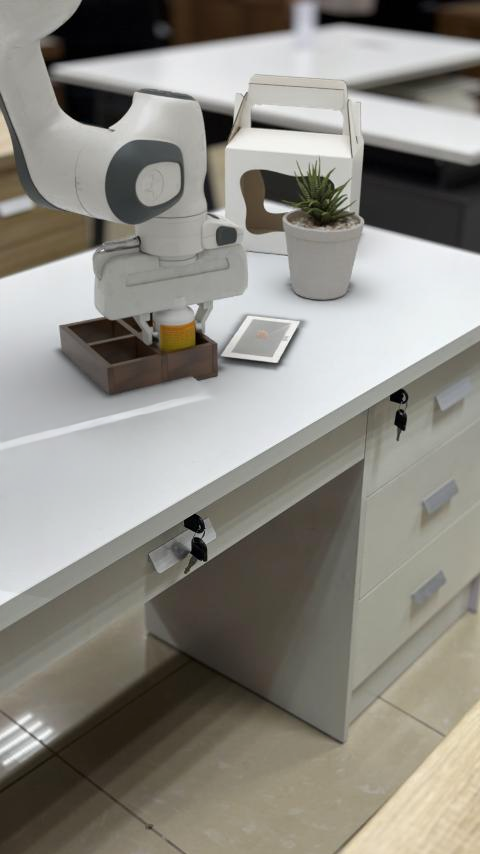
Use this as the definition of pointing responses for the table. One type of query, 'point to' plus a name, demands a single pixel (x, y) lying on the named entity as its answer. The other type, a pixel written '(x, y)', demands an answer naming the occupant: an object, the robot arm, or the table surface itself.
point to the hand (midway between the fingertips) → (174, 338)
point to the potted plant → (321, 239)
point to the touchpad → (261, 339)
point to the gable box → (288, 153)
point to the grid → (132, 355)
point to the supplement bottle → (175, 326)
